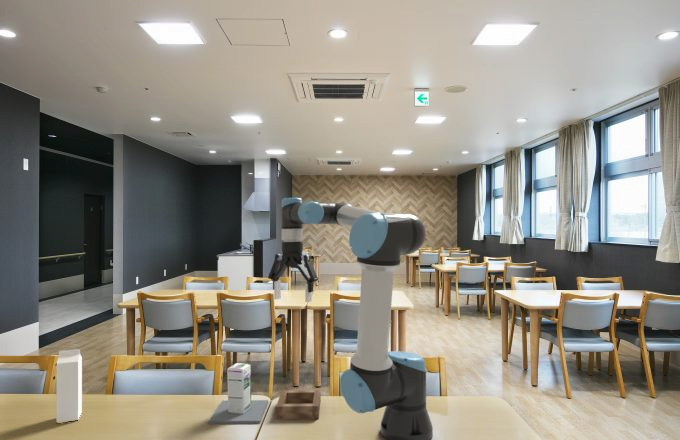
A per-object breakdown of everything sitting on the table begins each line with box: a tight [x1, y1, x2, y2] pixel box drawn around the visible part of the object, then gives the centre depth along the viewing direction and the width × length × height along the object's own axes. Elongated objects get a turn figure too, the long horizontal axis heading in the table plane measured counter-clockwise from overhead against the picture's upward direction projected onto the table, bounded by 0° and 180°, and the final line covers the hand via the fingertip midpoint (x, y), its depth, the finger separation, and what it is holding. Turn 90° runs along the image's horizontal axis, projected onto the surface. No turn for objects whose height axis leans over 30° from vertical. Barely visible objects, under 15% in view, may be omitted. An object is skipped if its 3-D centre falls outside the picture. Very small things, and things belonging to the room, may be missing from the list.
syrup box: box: [226, 362, 252, 414], centre depth 143 cm, size 6×6×14 cm
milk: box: [55, 348, 83, 422], centre depth 140 cm, size 6×6×22 cm
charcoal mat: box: [208, 399, 269, 425], centre depth 143 cm, size 16×16×1 cm
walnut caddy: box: [275, 389, 322, 420], centre depth 145 cm, size 14×14×4 cm
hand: (292, 300), depth 156 cm, fingers open, 13 cm apart
